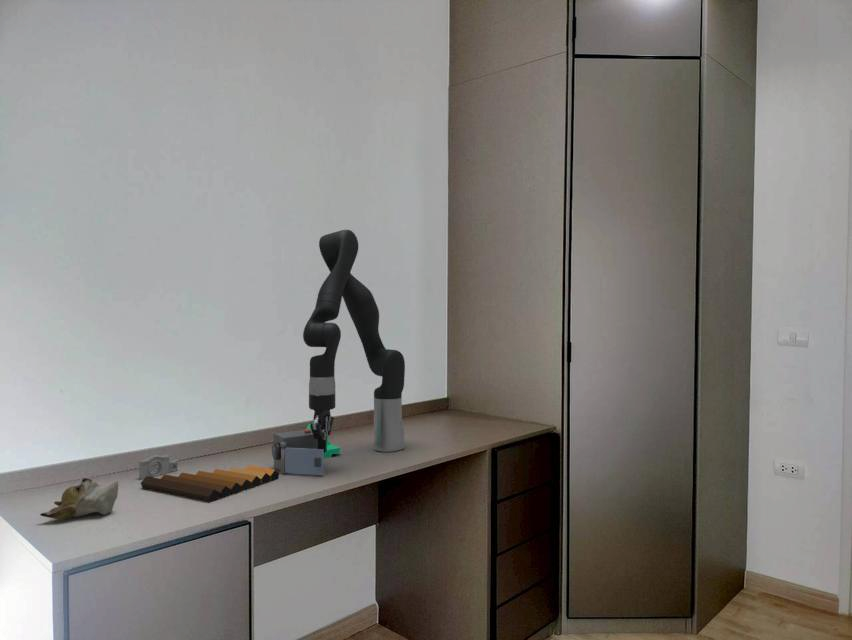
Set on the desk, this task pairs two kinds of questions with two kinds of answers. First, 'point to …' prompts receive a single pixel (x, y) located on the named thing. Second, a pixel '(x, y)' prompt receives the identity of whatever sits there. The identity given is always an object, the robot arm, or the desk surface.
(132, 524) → the desk surface
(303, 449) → the door
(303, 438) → the housing
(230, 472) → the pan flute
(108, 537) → the desk surface
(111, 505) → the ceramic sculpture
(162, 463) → the grey ringed bracket
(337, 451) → the camera mount
